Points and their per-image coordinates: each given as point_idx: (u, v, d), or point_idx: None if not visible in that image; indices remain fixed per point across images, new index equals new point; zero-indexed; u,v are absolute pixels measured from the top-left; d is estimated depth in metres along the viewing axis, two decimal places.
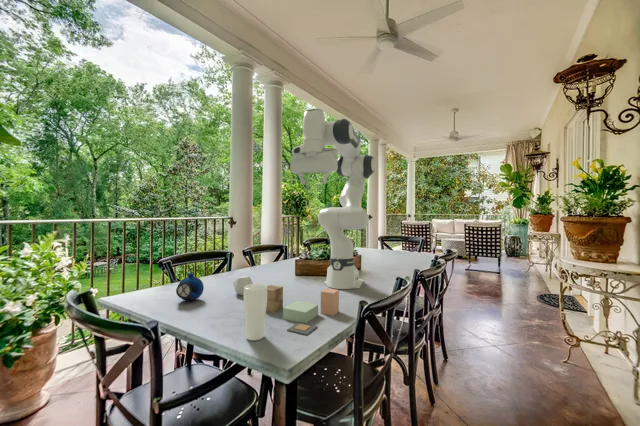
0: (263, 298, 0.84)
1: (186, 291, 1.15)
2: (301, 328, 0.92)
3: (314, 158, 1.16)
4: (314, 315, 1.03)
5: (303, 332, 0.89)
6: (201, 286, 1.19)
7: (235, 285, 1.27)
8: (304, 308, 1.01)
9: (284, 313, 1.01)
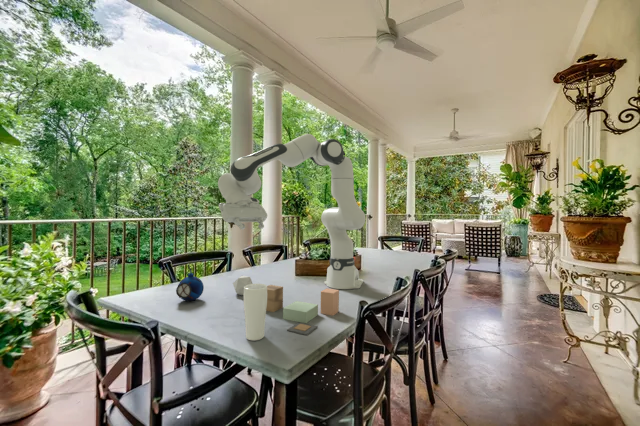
0: (263, 298, 0.84)
1: (186, 291, 1.15)
2: (301, 328, 0.92)
3: None
4: (314, 315, 1.03)
5: (303, 332, 0.89)
6: (201, 286, 1.19)
7: (235, 285, 1.27)
8: (305, 308, 1.01)
9: (285, 313, 1.01)
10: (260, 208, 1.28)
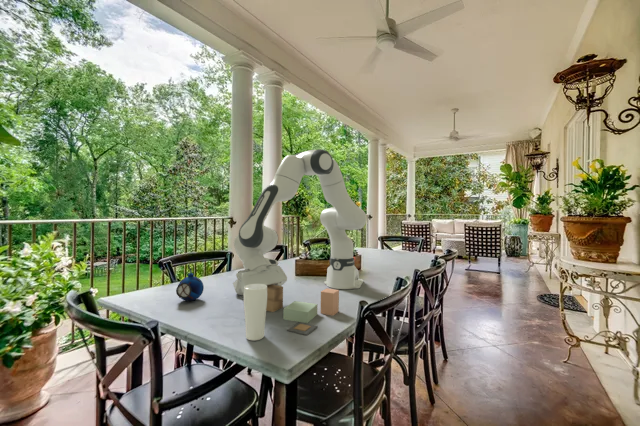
0: (263, 298, 0.84)
1: (186, 291, 1.15)
2: (301, 328, 0.92)
3: None
4: (314, 314, 1.04)
5: (303, 332, 0.89)
6: (201, 286, 1.19)
7: (235, 285, 1.27)
8: (305, 308, 1.01)
9: (285, 314, 1.01)
10: (279, 270, 1.21)
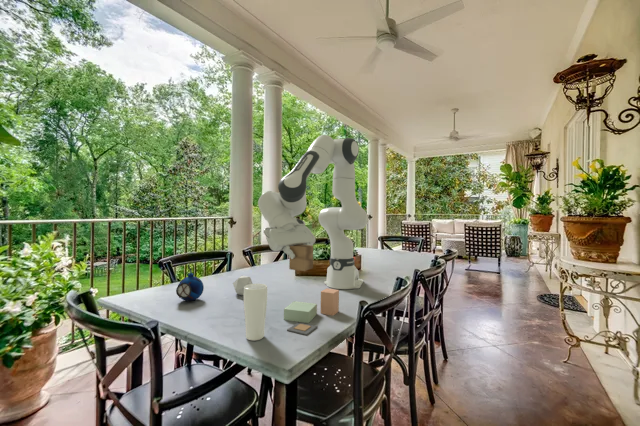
0: (263, 298, 0.84)
1: (186, 291, 1.15)
2: (301, 328, 0.92)
3: None
4: (314, 314, 1.04)
5: (303, 332, 0.89)
6: (201, 286, 1.19)
7: (235, 285, 1.27)
8: (306, 308, 1.01)
9: (286, 314, 1.00)
10: (307, 231, 1.12)
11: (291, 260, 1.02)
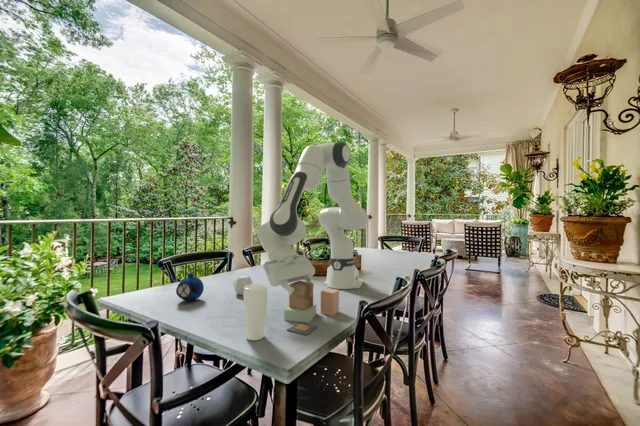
0: (263, 298, 0.84)
1: (186, 291, 1.15)
2: (301, 328, 0.92)
3: None
4: (314, 314, 1.04)
5: (303, 332, 0.89)
6: (201, 286, 1.19)
7: (235, 285, 1.27)
8: None
9: (286, 315, 1.00)
10: (307, 262, 1.12)
11: (291, 298, 1.02)
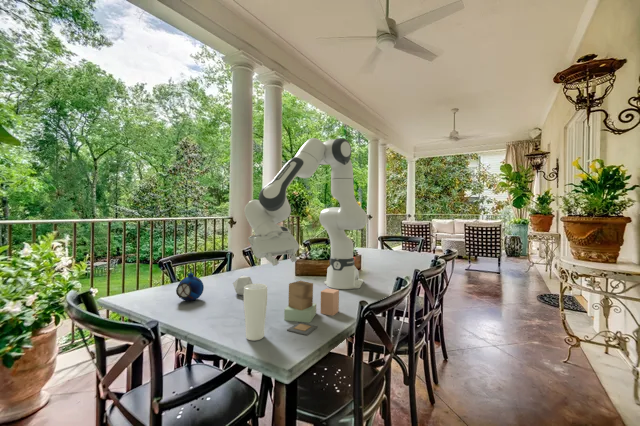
0: (263, 298, 0.84)
1: (186, 291, 1.15)
2: (301, 328, 0.92)
3: None
4: (314, 314, 1.04)
5: (303, 332, 0.89)
6: (201, 286, 1.19)
7: (235, 285, 1.27)
8: (306, 308, 1.01)
9: (286, 314, 1.00)
10: (291, 238, 1.18)
11: (290, 298, 1.02)
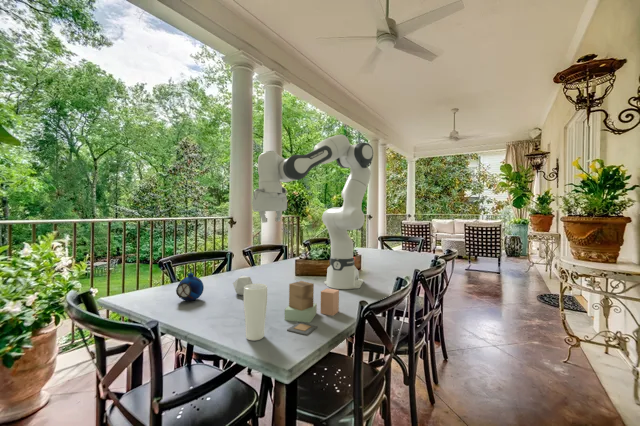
0: (263, 298, 0.84)
1: (186, 291, 1.15)
2: (301, 328, 0.92)
3: None
4: (314, 314, 1.04)
5: (303, 332, 0.89)
6: (201, 286, 1.19)
7: (235, 285, 1.27)
8: None
9: (286, 314, 1.00)
10: (284, 199, 1.31)
11: (290, 298, 1.02)
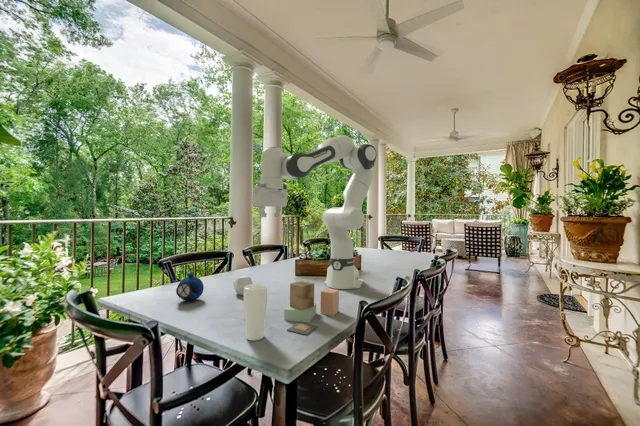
0: (263, 298, 0.84)
1: (186, 291, 1.15)
2: (301, 328, 0.92)
3: None
4: (314, 314, 1.04)
5: (303, 332, 0.89)
6: (201, 286, 1.19)
7: (235, 285, 1.27)
8: None
9: (286, 314, 1.00)
10: (285, 196, 1.33)
11: (291, 298, 1.03)
